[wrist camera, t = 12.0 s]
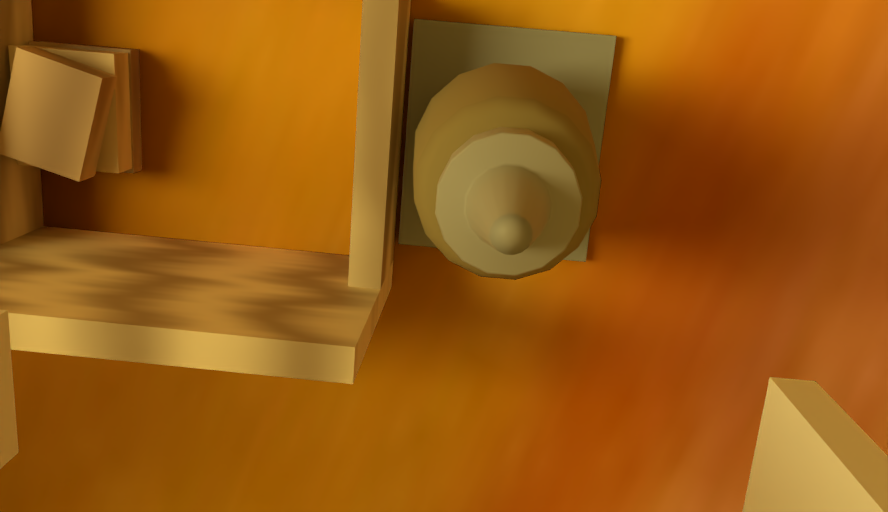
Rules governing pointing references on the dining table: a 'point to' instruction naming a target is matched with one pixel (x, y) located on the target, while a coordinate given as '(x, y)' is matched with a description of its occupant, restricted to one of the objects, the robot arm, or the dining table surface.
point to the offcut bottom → (133, 89)
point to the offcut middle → (118, 126)
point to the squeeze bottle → (505, 171)
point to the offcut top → (56, 113)
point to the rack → (212, 256)
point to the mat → (475, 45)
